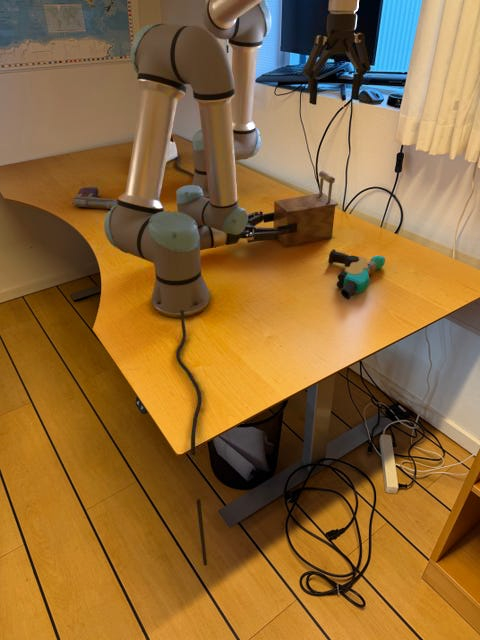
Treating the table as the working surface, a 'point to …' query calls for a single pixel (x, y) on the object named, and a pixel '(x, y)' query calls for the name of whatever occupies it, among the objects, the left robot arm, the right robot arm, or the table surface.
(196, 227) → the left robot arm
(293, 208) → the lid
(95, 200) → the toy gun
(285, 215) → the chest
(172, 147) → the sneaker
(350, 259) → the toy gun
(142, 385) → the table surface
